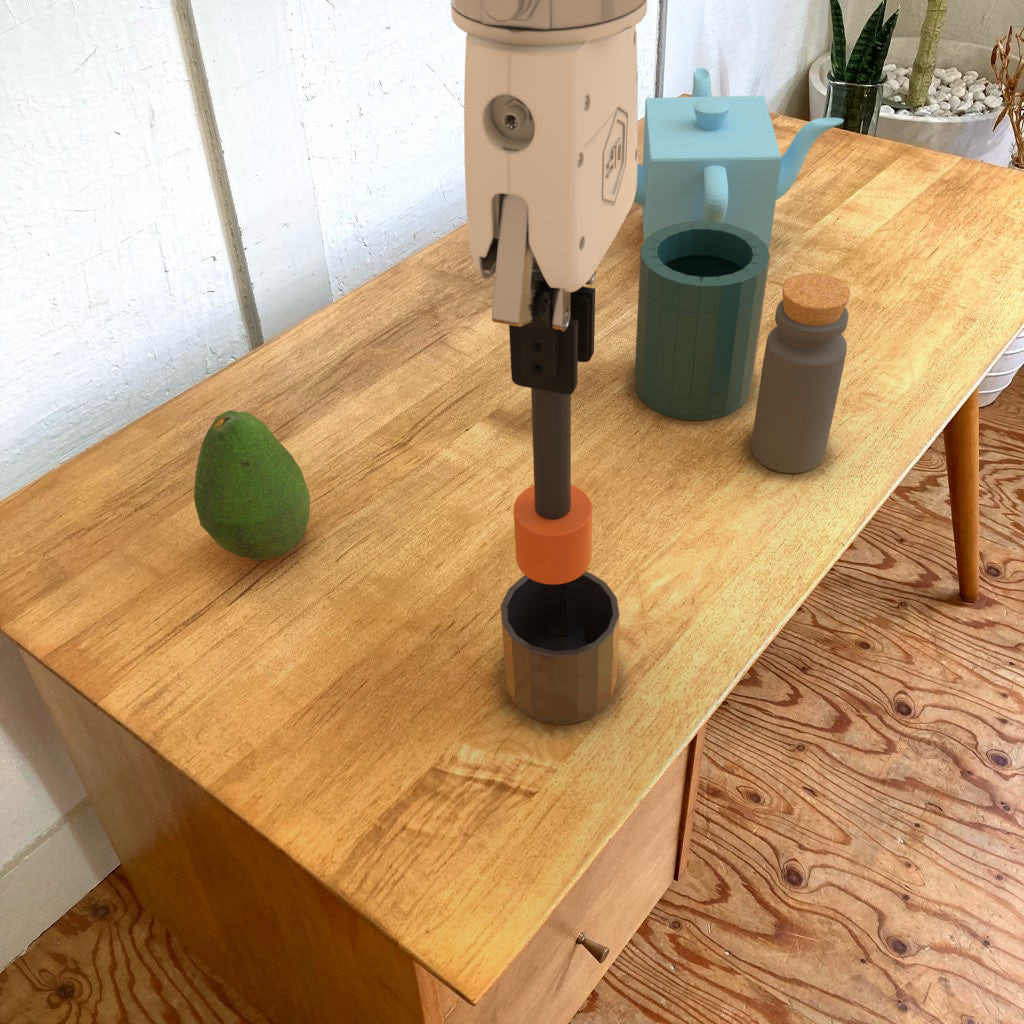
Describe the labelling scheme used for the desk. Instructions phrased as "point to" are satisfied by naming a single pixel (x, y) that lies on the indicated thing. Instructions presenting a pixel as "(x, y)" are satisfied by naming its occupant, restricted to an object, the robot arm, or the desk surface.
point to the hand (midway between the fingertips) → (553, 368)
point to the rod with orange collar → (552, 496)
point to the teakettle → (716, 160)
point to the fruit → (249, 489)
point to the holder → (560, 647)
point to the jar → (699, 318)
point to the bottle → (801, 374)
